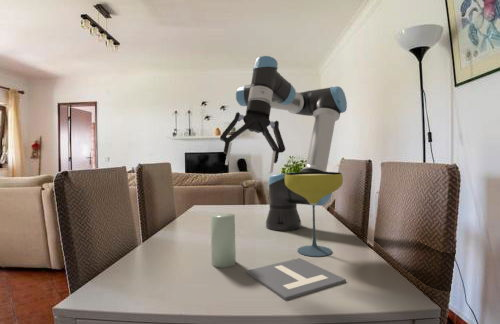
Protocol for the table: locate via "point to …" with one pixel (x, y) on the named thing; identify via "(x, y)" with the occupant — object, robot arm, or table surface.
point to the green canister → (223, 240)
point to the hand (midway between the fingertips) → (248, 168)
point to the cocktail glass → (314, 198)
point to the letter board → (294, 278)
